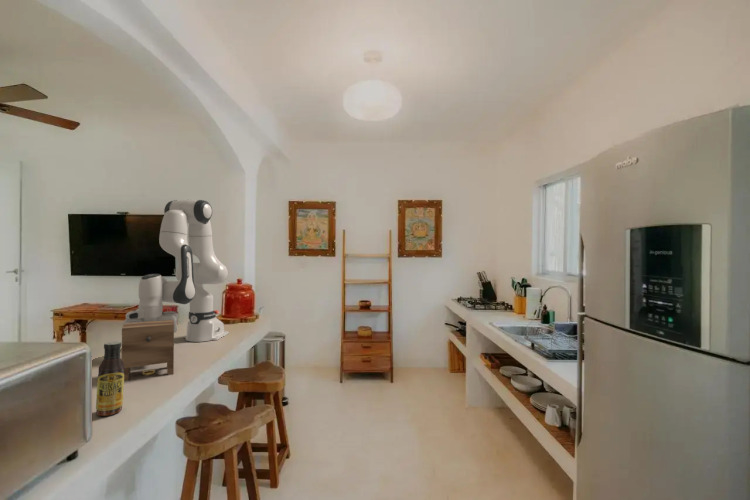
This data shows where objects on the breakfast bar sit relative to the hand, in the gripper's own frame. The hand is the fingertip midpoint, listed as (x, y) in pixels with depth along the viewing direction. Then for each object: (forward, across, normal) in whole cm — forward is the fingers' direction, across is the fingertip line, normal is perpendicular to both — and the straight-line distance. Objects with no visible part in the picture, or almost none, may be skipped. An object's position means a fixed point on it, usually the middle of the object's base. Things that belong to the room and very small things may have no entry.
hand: (150, 345), depth 158 cm
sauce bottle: (+6, +9, +55) cm, 56 cm away
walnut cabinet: (+6, 0, +22) cm, 23 cm away
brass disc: (+6, 0, +22) cm, 23 cm away
